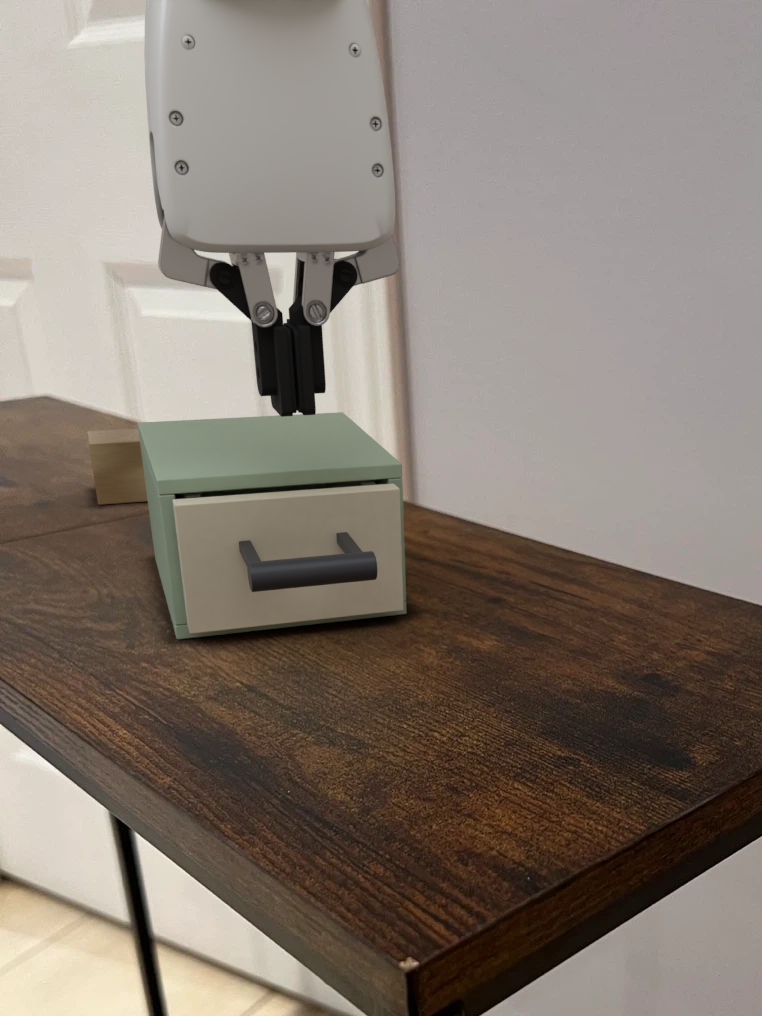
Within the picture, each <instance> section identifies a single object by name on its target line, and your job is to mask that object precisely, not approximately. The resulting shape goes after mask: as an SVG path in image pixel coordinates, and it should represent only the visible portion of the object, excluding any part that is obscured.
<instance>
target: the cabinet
mask: <svg viewBox="0 0 762 1016" xmlns="http://www.w3.org/2000/svg"><path fill="white" fill-rule="evenodd" d="M137 429H138V431H139V436H140V437H139V439H140V447H141V454H142V462H143V470H144V477H145V485H146V493H147V500H148V501H147V507H148V514H149V524H150V530H151V538H152V545H153V554H154V559H155V564H156V566H157V571H158V574H159V575H158V576H159V578H160V582H161V585H162V586H161V587H162V589H163V593H164V597H165V601H166V604H167V608H168V612H169V615H170V619H171V623H172V627H173V631H174V635H175V639H176V640H186V639H194V638H203V637H204V638H205V637H213V636H222V635H229V634H239V633H248V632H257V631H265V630H275V629H276V630H277V629H284V628H292V627H302V626H311V625H312V626H313V625H319V624H329V623H338V622H346V621H355V620H356V621H357V620H364V619H373V618H382V617H392V616H402V615H406V614H407V611H408V610H407V586H406V585H407V584H406V583H407V582H406V580H407V579H406V552H405V551H406V550H405V522H404V521H405V519H404V491H403V490H404V487H403V485H404V484H403V464H402V462H400V461H399V460H398V459H397V458H396V457H394V455H392V454H391V453H390V452H389V451H388V450H387V449H386V448H384V447H383V446H382V445H381V444H379V442H378V441H377V440H375V439H374V438H373V437H372V436H370V435H369V434H368V433H367V432H366V431H365V430H364V429H362V427H360V426H359V425H358V424H357V423H356V422H354V421H353V419H351V418H350V417H348V415H347V414H345V413H344V412H321V413H315V415H303V414H302V413H299V414H293V416H285V417H281V416H280V415H279V414H278V415H264V416H263V415H261V416H242V417H223V418H222V417H220V418H207V419H206V418H203V419H184V420H183V419H182V420H165V421H144V422H141V421H140V422H138V423H137ZM366 480H373V481H374V482H375V485H379V484H393V483H394V484H395V485H396V486H397V487H398V488H399V489H400V512H401V543H402V573H403V604H404V610H401V611H392V612H383V613H374V614H365V615H356V616H347V617H338V618H329V619H320V620H311V621H302V622H293V623H284V624H275V625H266V626H257V627H248V628H239V629H230V630H221V631H211V632H202V633H193V634H190V632H189V629H188V625H187V617H186V609H185V601H184V592H183V584H182V576H181V568H180V559H179V551H178V543H177V534H176V526H175V518H174V510H173V501H172V500H173V499H176V498H175V494H183V493H197V492H211V491H225V490H239V489H253V488H267V487H281V486H295V485H309V484H323V483H338V482H352V481H366Z"/></svg>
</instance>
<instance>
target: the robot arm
mask: <svg viewBox="0 0 762 1016" xmlns="http://www.w3.org/2000/svg"><path fill="white" fill-rule="evenodd" d="M144 13H145V14H144V48H143V49H144V54H143V55H144V82H145V83H144V84H145V98H146V99H145V100H146V101H145V102H146V113H147V116H146V117H147V126H148V127H147V129H148V130H147V131H148V143H149V144H148V145H149V154H150V165H151V167H150V168H151V177H152V178H151V179H152V187H153V195H154V201H155V203H154V204H155V209H156V214H157V219H158V223H159V226H160V229H161V234H160V242H159V243H160V244H159V251H158V259H157V266H158V269H159V272H161V274H163V276H164V277H165V278H167V279H170V280H173V281H178V282H181V283H182V282H183V283H186V284H190V285H195V286H199V287H202V288H203V287H204V288H209V289H213V290H217V291H218V293H220V294H221V295H222V296H224V297H225V298H226V299H227V300H228V302H230V303H231V304H232V305H233V306H234V307H235V308H236V309H237V310H239V311H240V312H241V314H243V315H244V316H245V317H246V318H247V319H249V321H250V322H251V323H250V324H251V332H252V333H251V334H252V343H253V344H252V345H253V354H254V367H255V376H256V387H257V391H258V394H259V396H260V397H270V403H271V407H272V409H273V410H275V412H276V413H277V414H278V416H279V415H280V416H281V417H285V416H293V415H294V414H296V413H299V414H303V415H315V414H317V413H316V411H317V409H316V408H317V407H316V394H325V393H326V386H327V385H326V384H327V383H326V369H325V367H326V366H325V353H324V340H323V339H324V338H323V337H324V336H323V325H324V324H326V323H327V322H328V320H329V318H330V315H331V313H332V312H333V311H334V309H335V308H336V307H337V306H338V305H339V304H340V302H341V301H342V300H343V299H344V298H345V297H346V295H347V294H348V293H349V292H350V291H351V290H352V288H353V287H356V286H360V285H362V284H363V285H364V284H367V283H370V282H373V281H378V280H381V279H384V278H387V277H391V276H393V275H395V274H397V273H398V272H399V269H400V265H401V264H400V258H399V255H398V251H397V247H396V244H395V240H394V236H393V234H394V230H395V224H396V188H395V173H394V163H393V151H392V143H391V141H392V140H391V135H390V134H391V133H390V126H389V117H388V109H387V100H386V95H385V87H384V79H383V73H382V68H381V60H380V55H379V50H378V44H377V39H376V34H375V29H374V24H373V20H372V15H371V11H370V7H369V4H368V0H145V12H144ZM196 251H197V252H204V253H214V254H216V253H217V254H228V256H229V260H230V263H229V262H226V261H225V260H222V259H217V258H212V257H209V256H204V255H202V254H198V253H197V252H196ZM347 252H355V253H352V254H349V255H346V256H343V257H340V258H335V253H347ZM271 253H272V254H274V253H275V254H276V253H277V254H278V253H279V254H281V253H282V254H284V253H286V254H287V253H295V264H294V266H295V267H294V280H293V294H292V295H293V296H292V304H291V305H290V306H289V307H288V318H286V322H284V317H283V316H284V315H283V311H281V310H280V309H279V308H278V307H277V304H276V299H275V295H274V291H273V286H272V282H271V277H270V273H269V269H268V264H267V259H266V255H265V254H271Z"/></svg>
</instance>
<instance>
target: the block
mask: <svg viewBox="0 0 762 1016" xmlns="http://www.w3.org/2000/svg"><path fill="white" fill-rule="evenodd" d="M86 433H87V441H88V448H89V453H90V454H89V455H90V461H91V466H92V473H93V480H94V481H93V482H94V487H95V495H96V500H97V501H96V502H97V505H98V506H101V505H102V506H104V505H117V504H129V503H130V504H131V503H132V504H133V503H143V502H145V503H146V502H148V500H147V493H146V485H145V477H144V470H143V462H142V454H141V447H140V439H139V437H140V436H139V431H138V428H121V429H101V430H88V431H86Z"/></svg>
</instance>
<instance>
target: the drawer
mask: <svg viewBox="0 0 762 1016" xmlns="http://www.w3.org/2000/svg"><path fill="white" fill-rule="evenodd" d="M175 498H176V499H173V500H172V501H173V510H174V518H175V526H176V534H177V543H178V551H179V559H180V568H181V576H182V584H183V592H184V601H185V609H186V617H187V625H188V629H189V632H190V634H193V633H202V632H211V631H221V630H230V629H239V628H248V627H257V626H266V625H275V624H284V623H293V622H302V621H311V620H320V619H329V618H338V617H347V616H356V615H365V614H374V613H383V612H392V611H401V610H404V604H403V573H402V543H401V512H400V489H399V488H398V487H397V486H396V485H395V484H394V483H393V484H379V485H375V482H374V481H373V480H366V481H352V482H338V483H323V484H309V485H295V486H281V487H267V488H253V489H239V490H225V491H211V492H197V493H183V494H175Z"/></svg>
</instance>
